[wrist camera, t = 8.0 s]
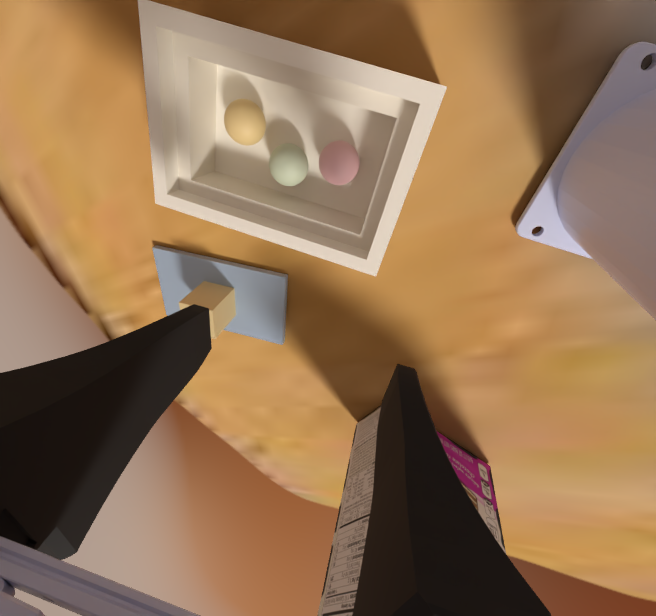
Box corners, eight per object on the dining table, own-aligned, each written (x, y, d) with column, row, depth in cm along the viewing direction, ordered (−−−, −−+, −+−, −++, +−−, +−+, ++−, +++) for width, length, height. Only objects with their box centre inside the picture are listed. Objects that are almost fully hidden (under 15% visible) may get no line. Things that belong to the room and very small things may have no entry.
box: (441, 87, 15) (446, 86, 11) (383, 245, 19) (375, 276, 16) (197, 17, 15) (137, -3, 12) (198, 185, 20) (155, 203, 17)
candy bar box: (494, 462, 27) (561, 809, 14) (450, 482, 30) (472, 785, 17) (389, 394, 26) (354, 709, 13) (353, 421, 29) (295, 701, 16)
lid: (290, 271, 23) (268, 300, 19) (286, 336, 26) (267, 371, 23) (161, 242, 24) (120, 265, 21) (174, 308, 27) (140, 337, 24)
